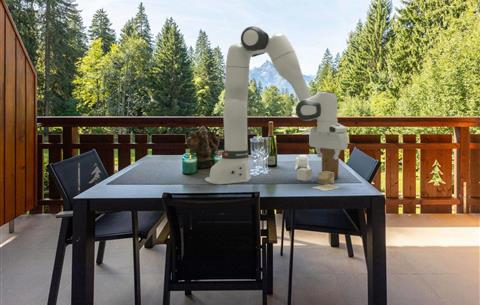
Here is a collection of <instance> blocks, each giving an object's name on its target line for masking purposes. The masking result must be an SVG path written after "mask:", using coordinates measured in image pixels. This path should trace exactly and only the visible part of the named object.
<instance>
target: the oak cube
mask: <svg viewBox="0 0 480 305" xmlns="http://www.w3.org/2000/svg"><path fill="white" fill-rule="evenodd" d="M317 184H320V185H328V184H329V185H334V184H335V179H334V173H333V172H328V171H323V172H322V171H318V172H317Z"/></svg>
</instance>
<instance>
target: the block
mask: <svg viewBox="0 0 480 305" xmlns="http://www.w3.org/2000/svg"><path fill="white" fill-rule="evenodd" d="M321 153H322V157H321V172H323V171H328V172H333V173H334V180H335V179H337V178H339V165H340V164H339V163H340V162H339V161H340V156H339V155H340V154H339V155H338V159H337V160H335V159H333V155H335V153H336V152H335V149H327V148H321Z"/></svg>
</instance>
